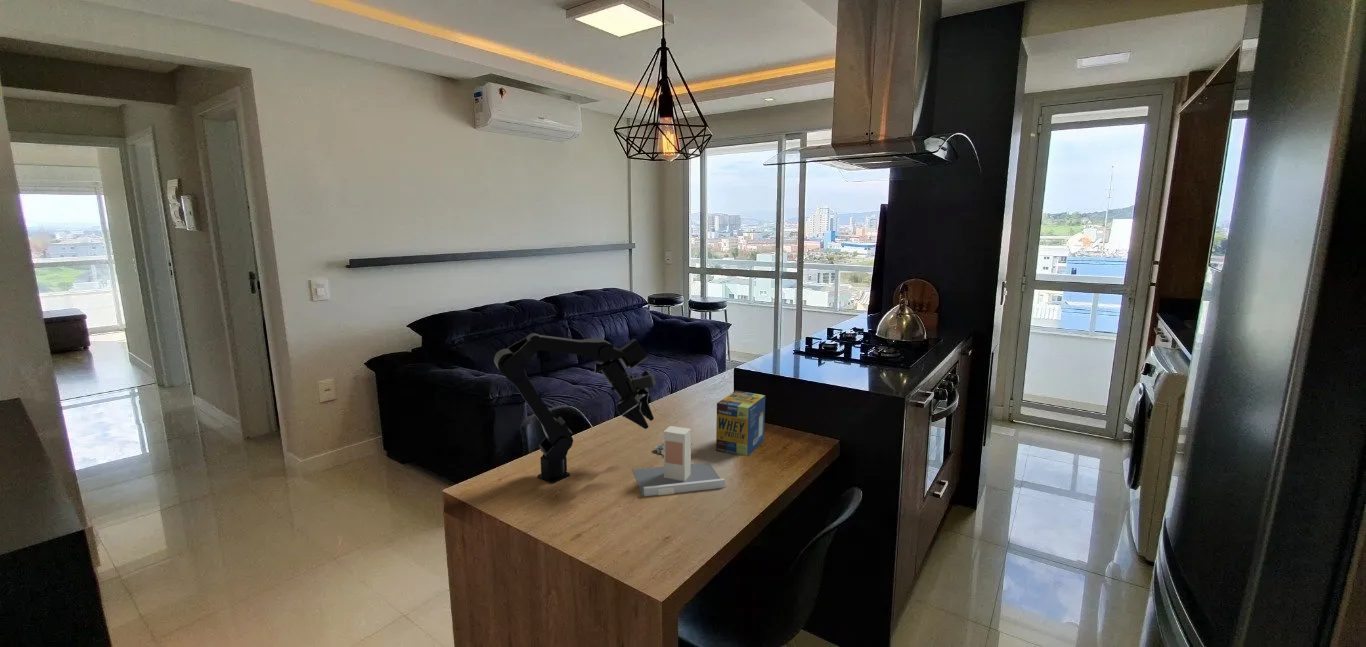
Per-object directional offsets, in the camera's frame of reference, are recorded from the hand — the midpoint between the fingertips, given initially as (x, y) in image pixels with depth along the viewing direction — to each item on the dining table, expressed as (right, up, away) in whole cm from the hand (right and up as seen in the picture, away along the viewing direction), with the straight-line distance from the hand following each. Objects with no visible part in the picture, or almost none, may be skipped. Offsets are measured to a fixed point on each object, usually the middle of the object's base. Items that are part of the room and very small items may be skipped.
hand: (649, 423), depth 159 cm
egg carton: (+6, -12, +13) cm, 18 cm away
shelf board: (+8, -15, -7) cm, 18 cm away
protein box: (+27, -11, +19) cm, 35 cm away
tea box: (+8, -13, -6) cm, 16 cm away
